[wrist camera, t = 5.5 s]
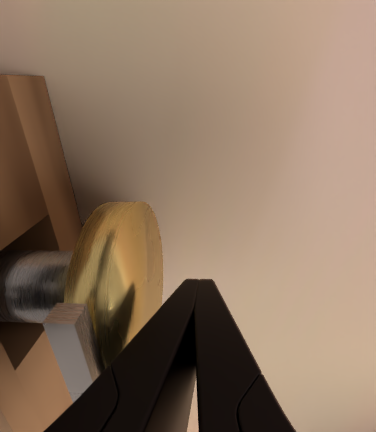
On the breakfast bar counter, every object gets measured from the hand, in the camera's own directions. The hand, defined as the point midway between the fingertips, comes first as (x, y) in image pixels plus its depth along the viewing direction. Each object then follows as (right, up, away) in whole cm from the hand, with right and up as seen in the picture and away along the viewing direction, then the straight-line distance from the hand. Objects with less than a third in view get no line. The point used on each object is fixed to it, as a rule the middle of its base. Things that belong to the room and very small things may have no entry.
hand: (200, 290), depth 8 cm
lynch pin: (-6, +1, +3) cm, 7 cm away
